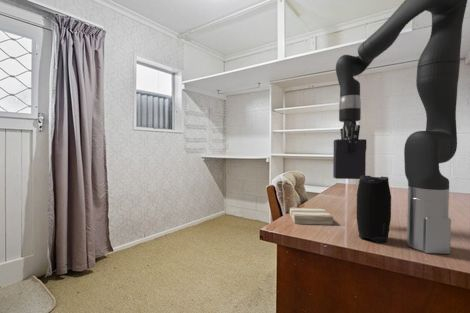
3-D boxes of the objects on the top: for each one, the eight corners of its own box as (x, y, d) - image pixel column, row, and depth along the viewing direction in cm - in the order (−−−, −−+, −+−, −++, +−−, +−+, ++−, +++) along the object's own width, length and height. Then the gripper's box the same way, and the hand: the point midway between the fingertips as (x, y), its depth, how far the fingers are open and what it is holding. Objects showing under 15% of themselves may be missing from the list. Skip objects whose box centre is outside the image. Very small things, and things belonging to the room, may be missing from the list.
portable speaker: (353, 233, 83) (354, 175, 82) (384, 235, 81) (385, 175, 80) (360, 242, 74) (361, 177, 74) (395, 244, 72) (396, 178, 72)
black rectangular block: (361, 178, 97) (361, 139, 97) (366, 179, 93) (366, 139, 92) (332, 177, 98) (332, 139, 98) (335, 178, 94) (336, 139, 93)
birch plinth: (332, 224, 92) (332, 216, 92) (294, 223, 93) (294, 215, 93) (322, 215, 106) (322, 208, 106) (289, 214, 107) (289, 207, 107)
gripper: (368, 105, 87) (367, 153, 88) (352, 111, 102) (352, 153, 102) (346, 105, 88) (345, 153, 88) (333, 111, 102) (333, 153, 102)
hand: (349, 153), depth 95 cm, fingers closed on black rectangular block, 4 cm apart
